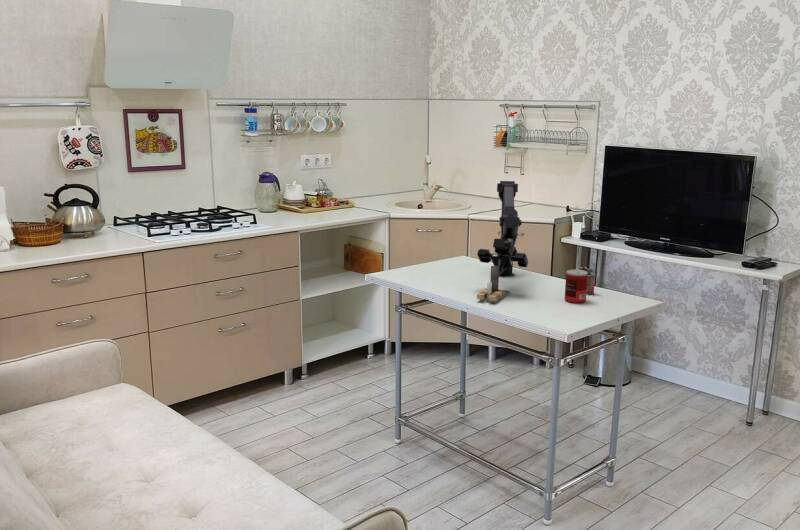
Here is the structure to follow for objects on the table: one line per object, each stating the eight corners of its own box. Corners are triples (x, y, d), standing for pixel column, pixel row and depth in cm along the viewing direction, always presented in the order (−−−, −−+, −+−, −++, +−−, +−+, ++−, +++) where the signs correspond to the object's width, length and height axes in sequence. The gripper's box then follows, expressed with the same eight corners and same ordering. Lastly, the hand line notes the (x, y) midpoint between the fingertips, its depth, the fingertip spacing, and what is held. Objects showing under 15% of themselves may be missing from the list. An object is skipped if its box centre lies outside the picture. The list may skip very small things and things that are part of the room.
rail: (494, 291, 272) (494, 273, 270) (509, 293, 269) (510, 275, 268) (479, 301, 259) (480, 282, 257) (495, 303, 256) (495, 284, 254)
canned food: (586, 299, 263) (588, 270, 260) (584, 304, 255) (587, 275, 253) (565, 297, 265) (567, 268, 263) (563, 302, 258) (565, 273, 255)
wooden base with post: (486, 292, 266) (487, 264, 263) (504, 294, 263) (505, 266, 260) (476, 298, 257) (477, 270, 255) (495, 301, 254) (496, 272, 252)
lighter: (572, 291, 273) (574, 266, 270) (576, 290, 275) (578, 265, 273) (591, 295, 267) (593, 270, 265) (595, 293, 270) (597, 268, 267)
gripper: (479, 227, 268) (467, 261, 261) (527, 232, 260) (516, 267, 253) (486, 244, 277) (475, 278, 269) (532, 249, 268) (522, 284, 261)
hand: (496, 276), depth 263 cm, fingers closed
